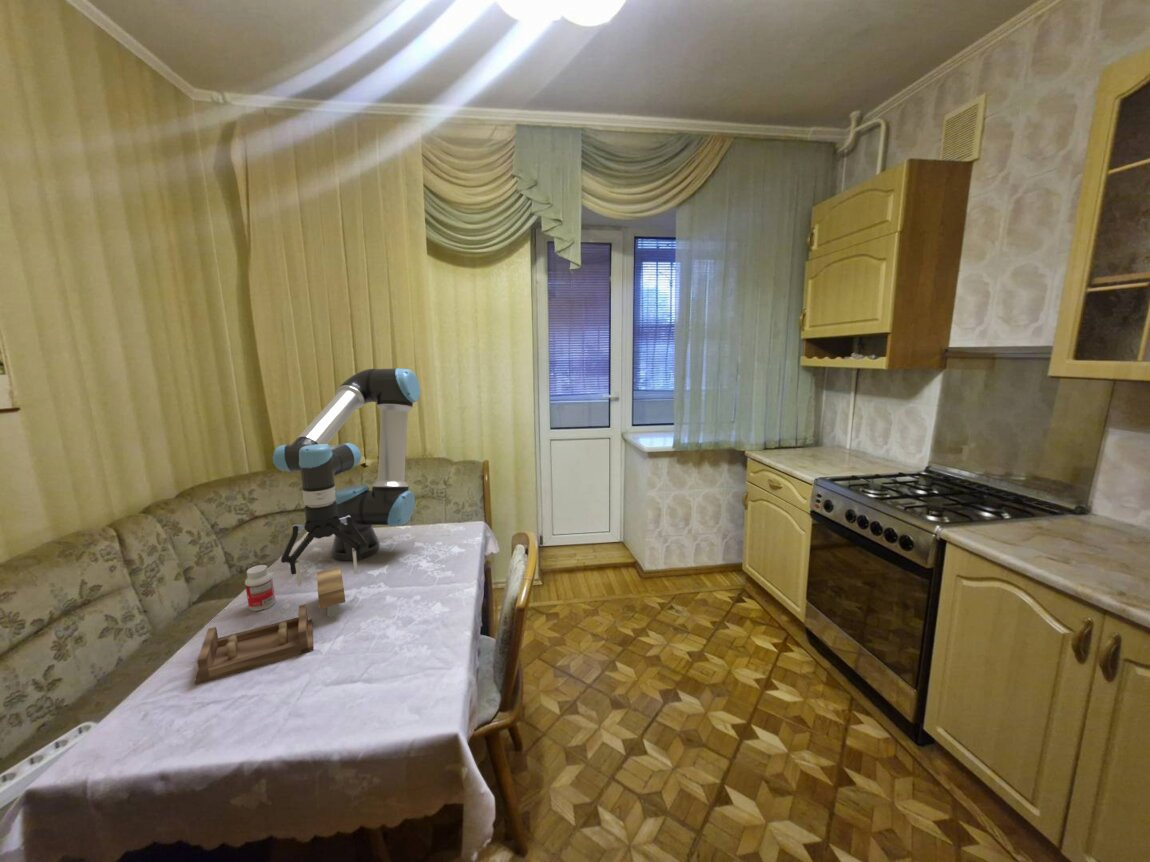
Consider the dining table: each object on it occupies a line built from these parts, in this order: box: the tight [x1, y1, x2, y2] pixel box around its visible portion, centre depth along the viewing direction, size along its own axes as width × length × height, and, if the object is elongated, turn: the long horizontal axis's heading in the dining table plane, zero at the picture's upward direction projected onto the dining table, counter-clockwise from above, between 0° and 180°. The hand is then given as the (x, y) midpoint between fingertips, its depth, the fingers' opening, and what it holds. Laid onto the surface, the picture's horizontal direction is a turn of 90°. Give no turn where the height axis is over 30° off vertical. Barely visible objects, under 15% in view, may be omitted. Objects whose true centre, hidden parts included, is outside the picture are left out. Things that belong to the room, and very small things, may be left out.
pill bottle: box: [244, 564, 276, 612], centre depth 127 cm, size 6×6×11 cm
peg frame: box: [194, 604, 314, 686], centre depth 108 cm, size 13×22×6 cm, turn 120°
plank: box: [316, 566, 346, 610], centre depth 126 cm, size 14×6×4 cm, turn 30°
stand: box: [326, 604, 341, 618], centre depth 126 cm, size 10×3×4 cm, turn 30°
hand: (328, 577), depth 125 cm, fingers open, 13 cm apart
